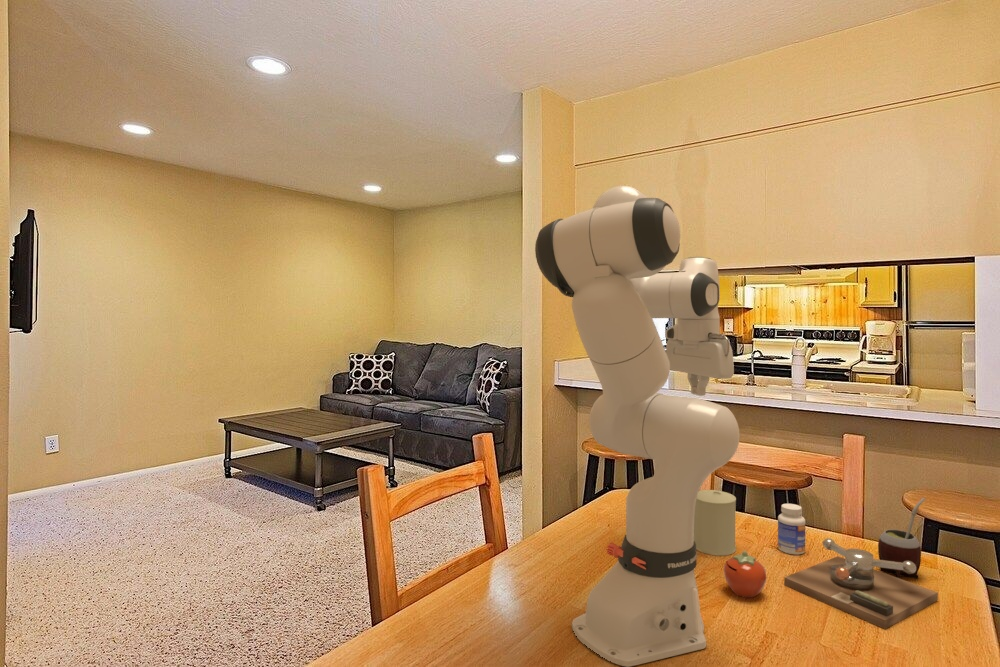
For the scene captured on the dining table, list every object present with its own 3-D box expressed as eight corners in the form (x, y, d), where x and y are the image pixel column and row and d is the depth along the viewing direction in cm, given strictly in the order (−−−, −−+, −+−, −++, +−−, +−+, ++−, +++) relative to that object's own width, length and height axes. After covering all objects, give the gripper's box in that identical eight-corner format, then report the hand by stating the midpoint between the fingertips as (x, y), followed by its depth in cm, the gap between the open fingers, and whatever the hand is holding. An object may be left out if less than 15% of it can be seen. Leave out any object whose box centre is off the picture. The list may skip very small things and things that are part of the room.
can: (739, 544, 131) (740, 491, 130) (731, 559, 123) (731, 503, 123) (697, 535, 136) (697, 485, 135) (687, 550, 128) (687, 496, 128)
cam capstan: (917, 590, 105) (918, 559, 105) (890, 616, 97) (891, 583, 96) (825, 561, 118) (825, 534, 117) (794, 582, 109) (794, 553, 109)
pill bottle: (802, 557, 124) (803, 512, 123) (775, 551, 127) (775, 507, 126) (807, 548, 128) (807, 505, 128) (780, 543, 131) (781, 500, 131)
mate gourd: (876, 575, 115) (877, 501, 114) (879, 561, 121) (881, 490, 121) (922, 586, 111) (924, 508, 110) (923, 571, 117) (925, 497, 116)
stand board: (884, 629, 96) (885, 608, 96) (783, 585, 112) (784, 567, 111) (937, 600, 105) (938, 581, 105) (837, 563, 121) (838, 546, 121)
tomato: (716, 584, 112) (716, 543, 112) (753, 582, 113) (753, 542, 113) (735, 604, 105) (735, 560, 104) (774, 601, 106) (775, 558, 105)
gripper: (742, 333, 118) (741, 401, 119) (684, 330, 138) (684, 388, 139) (715, 334, 117) (714, 402, 117) (661, 330, 136) (661, 389, 137)
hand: (698, 394), depth 128 cm, fingers closed
